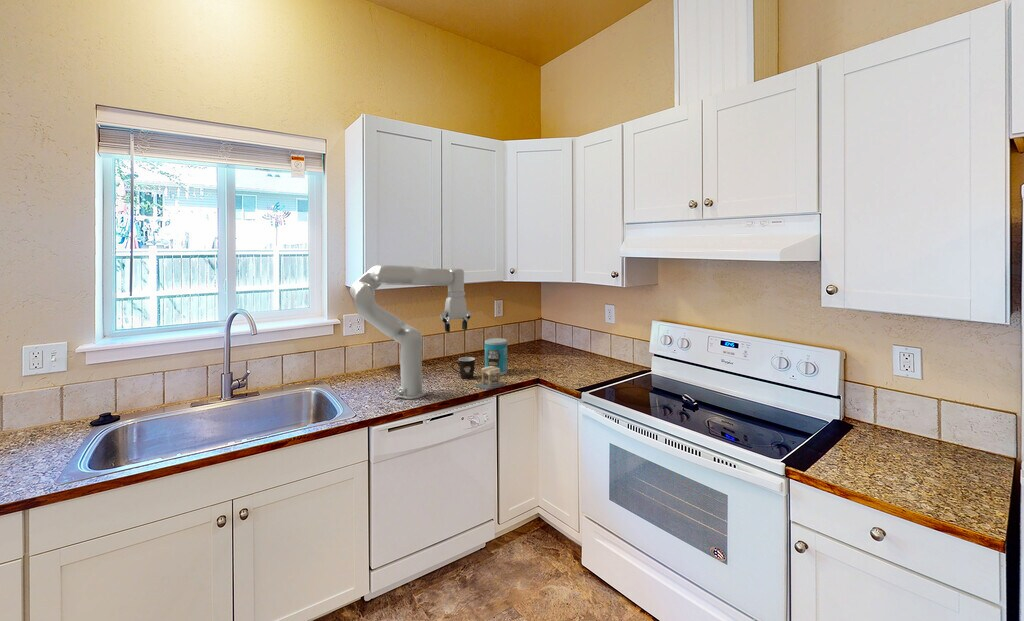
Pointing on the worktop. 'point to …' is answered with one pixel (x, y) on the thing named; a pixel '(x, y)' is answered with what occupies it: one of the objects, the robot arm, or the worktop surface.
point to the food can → (496, 354)
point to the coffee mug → (466, 367)
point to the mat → (494, 385)
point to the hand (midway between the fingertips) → (456, 330)
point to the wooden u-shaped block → (491, 375)
